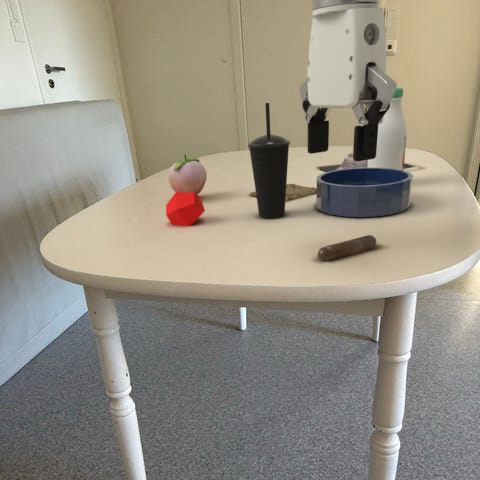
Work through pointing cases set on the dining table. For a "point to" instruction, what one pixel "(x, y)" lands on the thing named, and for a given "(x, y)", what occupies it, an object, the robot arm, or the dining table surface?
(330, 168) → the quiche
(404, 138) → the milk bottle
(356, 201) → the bowl
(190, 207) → the red faceted polyhedron
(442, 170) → the dining table surface
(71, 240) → the dining table surface
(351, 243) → the stick
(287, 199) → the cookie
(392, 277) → the dining table surface
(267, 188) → the drinking cup
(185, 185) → the decorative fruit
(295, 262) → the dining table surface
